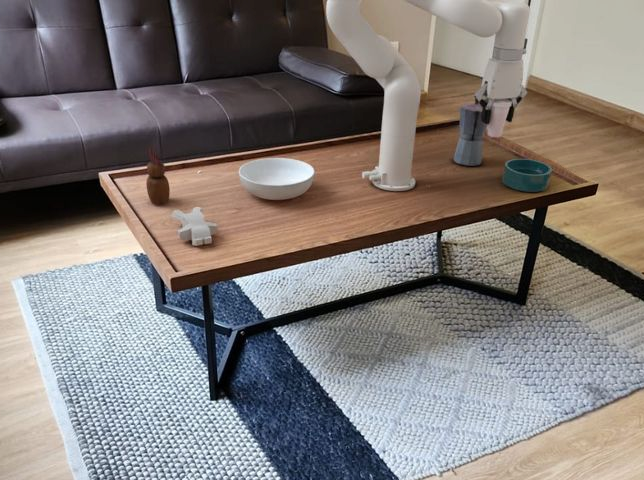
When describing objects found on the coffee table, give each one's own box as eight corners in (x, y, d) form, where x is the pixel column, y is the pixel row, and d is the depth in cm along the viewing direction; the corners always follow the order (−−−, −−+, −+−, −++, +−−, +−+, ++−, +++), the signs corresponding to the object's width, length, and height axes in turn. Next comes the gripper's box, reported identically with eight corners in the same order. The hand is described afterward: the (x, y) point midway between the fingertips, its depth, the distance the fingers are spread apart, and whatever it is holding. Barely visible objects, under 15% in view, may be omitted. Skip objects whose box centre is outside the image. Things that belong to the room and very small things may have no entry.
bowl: (517, 195, 184) (521, 177, 181) (493, 178, 195) (496, 160, 192) (556, 190, 188) (561, 173, 185) (531, 174, 198) (534, 157, 195)
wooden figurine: (146, 198, 175) (140, 145, 167) (168, 195, 177) (162, 142, 169) (150, 208, 170) (143, 153, 162) (172, 205, 171) (167, 151, 163)
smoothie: (509, 134, 181) (518, 83, 173) (501, 140, 176) (510, 88, 169) (487, 130, 184) (495, 80, 176) (479, 135, 179) (487, 84, 172)
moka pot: (480, 155, 211) (490, 93, 201) (485, 172, 198) (497, 108, 188) (451, 153, 212) (459, 92, 201) (454, 170, 199) (464, 106, 188)
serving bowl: (322, 184, 187) (323, 161, 183) (301, 213, 169) (301, 189, 166) (255, 175, 191) (254, 153, 187) (227, 203, 174) (226, 179, 170)
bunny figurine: (183, 236, 148) (166, 204, 158) (184, 254, 151) (168, 222, 161) (222, 229, 151) (204, 198, 162) (223, 247, 155) (204, 216, 165)
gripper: (528, 49, 174) (516, 115, 183) (470, 52, 169) (461, 120, 179) (544, 55, 168) (531, 123, 177) (485, 59, 163) (475, 128, 173)
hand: (496, 121), depth 178 cm, fingers closed on smoothie, 6 cm apart
